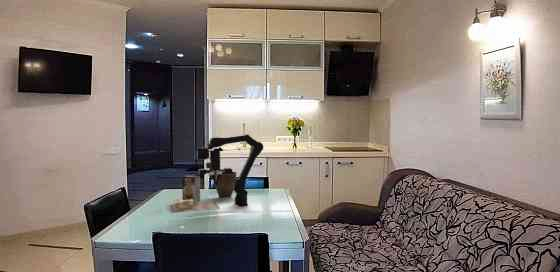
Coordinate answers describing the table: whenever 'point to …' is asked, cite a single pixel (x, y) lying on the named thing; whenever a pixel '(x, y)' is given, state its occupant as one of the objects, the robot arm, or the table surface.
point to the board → (197, 207)
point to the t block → (183, 204)
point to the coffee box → (191, 188)
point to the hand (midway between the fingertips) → (215, 186)
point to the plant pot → (225, 184)
